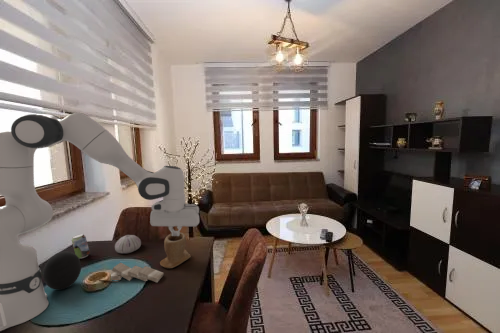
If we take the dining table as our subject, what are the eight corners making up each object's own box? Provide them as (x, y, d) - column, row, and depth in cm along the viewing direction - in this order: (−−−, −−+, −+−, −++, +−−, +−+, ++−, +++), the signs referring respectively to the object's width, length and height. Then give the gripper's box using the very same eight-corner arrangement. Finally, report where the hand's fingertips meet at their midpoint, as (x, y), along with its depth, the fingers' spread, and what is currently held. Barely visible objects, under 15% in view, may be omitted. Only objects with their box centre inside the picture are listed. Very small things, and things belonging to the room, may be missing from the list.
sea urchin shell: (146, 245, 141) (145, 231, 140) (131, 256, 127) (130, 241, 126) (125, 244, 143) (124, 230, 142) (109, 254, 129) (107, 240, 128)
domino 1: (120, 279, 104) (99, 279, 104) (126, 273, 109) (106, 273, 109) (120, 276, 104) (99, 276, 104) (126, 269, 109) (106, 270, 109)
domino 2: (129, 280, 104) (111, 270, 105) (136, 274, 109) (119, 265, 109) (131, 277, 104) (113, 267, 104) (137, 272, 109) (120, 262, 109)
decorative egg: (52, 282, 104) (48, 249, 102) (86, 276, 108) (83, 244, 107) (39, 299, 93) (34, 262, 91) (77, 292, 97) (73, 256, 95)
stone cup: (173, 273, 110) (171, 241, 108) (156, 266, 116) (154, 236, 115) (197, 259, 123) (196, 230, 121) (181, 253, 129) (179, 226, 127)
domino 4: (157, 282, 103) (137, 275, 103) (162, 276, 108) (144, 269, 108) (158, 279, 103) (138, 272, 103) (163, 272, 107) (145, 265, 108)
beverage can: (88, 258, 125) (86, 236, 124) (71, 261, 123) (69, 238, 121) (91, 253, 131) (89, 231, 130) (75, 255, 128) (73, 234, 127)
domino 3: (146, 281, 104) (127, 274, 104) (152, 275, 108) (134, 268, 109) (147, 278, 103) (128, 271, 104) (153, 272, 108) (135, 265, 109)
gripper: (200, 202, 105) (201, 232, 106) (154, 202, 106) (155, 232, 107) (196, 206, 99) (198, 238, 100) (147, 206, 99) (149, 238, 101)
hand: (175, 235), depth 103 cm, fingers closed
